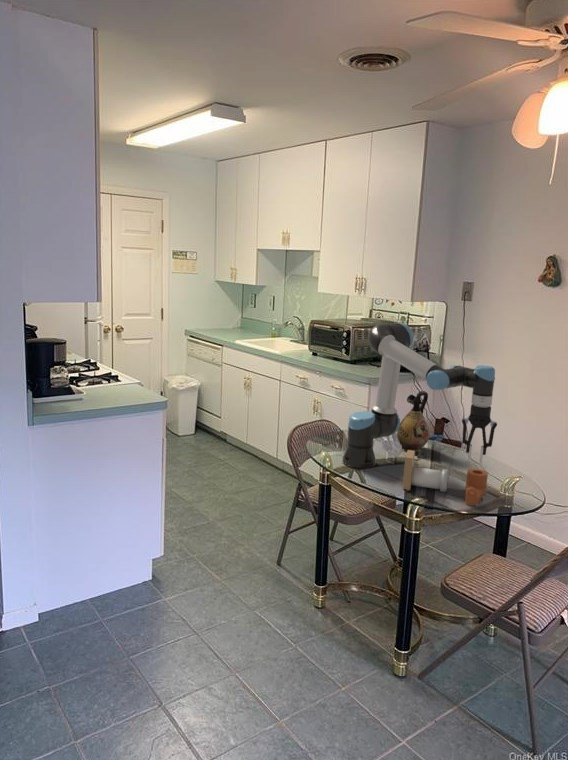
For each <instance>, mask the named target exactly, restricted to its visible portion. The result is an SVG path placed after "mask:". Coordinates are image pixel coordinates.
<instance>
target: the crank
mask: <svg viewBox="0 0 568 760" xmlns="http://www.w3.org/2000/svg"><path fill="white" fill-rule="evenodd" d="M488 474H489V473H488V472H487V471H486V470H484V469H480V468H469V469H467V473H466V482H465V490H466V498H465V501H464V502H465V505H470V506H477V505H478V504H479V502H480V501H481V500H480V499H481V498H482V496H483V497H484V495H485V494H486V491H487V483H488V477H489V476H488Z"/></svg>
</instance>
